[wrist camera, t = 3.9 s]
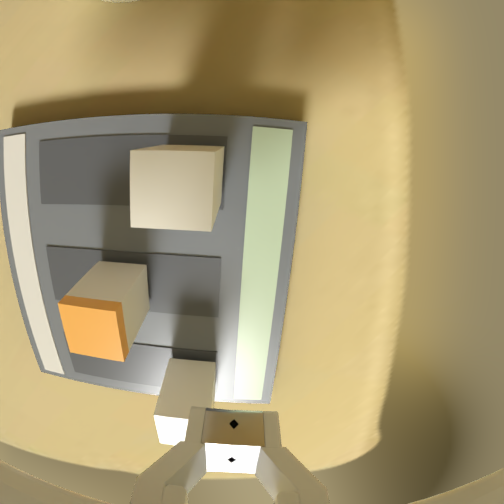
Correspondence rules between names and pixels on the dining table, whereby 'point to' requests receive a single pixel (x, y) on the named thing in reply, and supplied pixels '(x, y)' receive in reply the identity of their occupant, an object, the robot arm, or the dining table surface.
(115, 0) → the reusable coffee cup
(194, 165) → the block
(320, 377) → the dining table surface
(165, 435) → the block
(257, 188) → the panel
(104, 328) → the block
